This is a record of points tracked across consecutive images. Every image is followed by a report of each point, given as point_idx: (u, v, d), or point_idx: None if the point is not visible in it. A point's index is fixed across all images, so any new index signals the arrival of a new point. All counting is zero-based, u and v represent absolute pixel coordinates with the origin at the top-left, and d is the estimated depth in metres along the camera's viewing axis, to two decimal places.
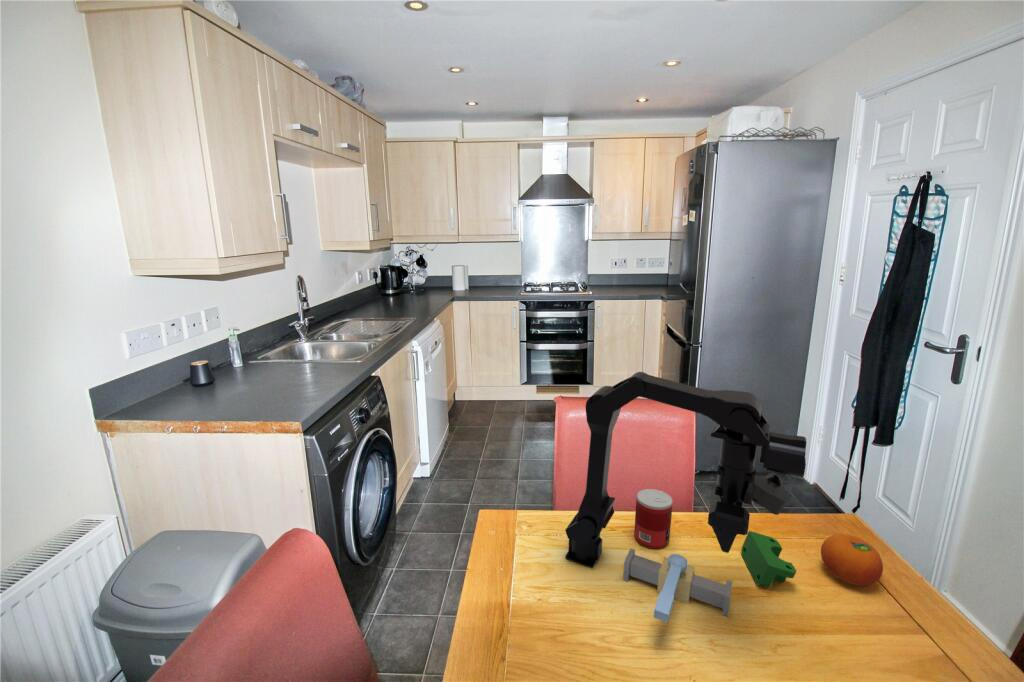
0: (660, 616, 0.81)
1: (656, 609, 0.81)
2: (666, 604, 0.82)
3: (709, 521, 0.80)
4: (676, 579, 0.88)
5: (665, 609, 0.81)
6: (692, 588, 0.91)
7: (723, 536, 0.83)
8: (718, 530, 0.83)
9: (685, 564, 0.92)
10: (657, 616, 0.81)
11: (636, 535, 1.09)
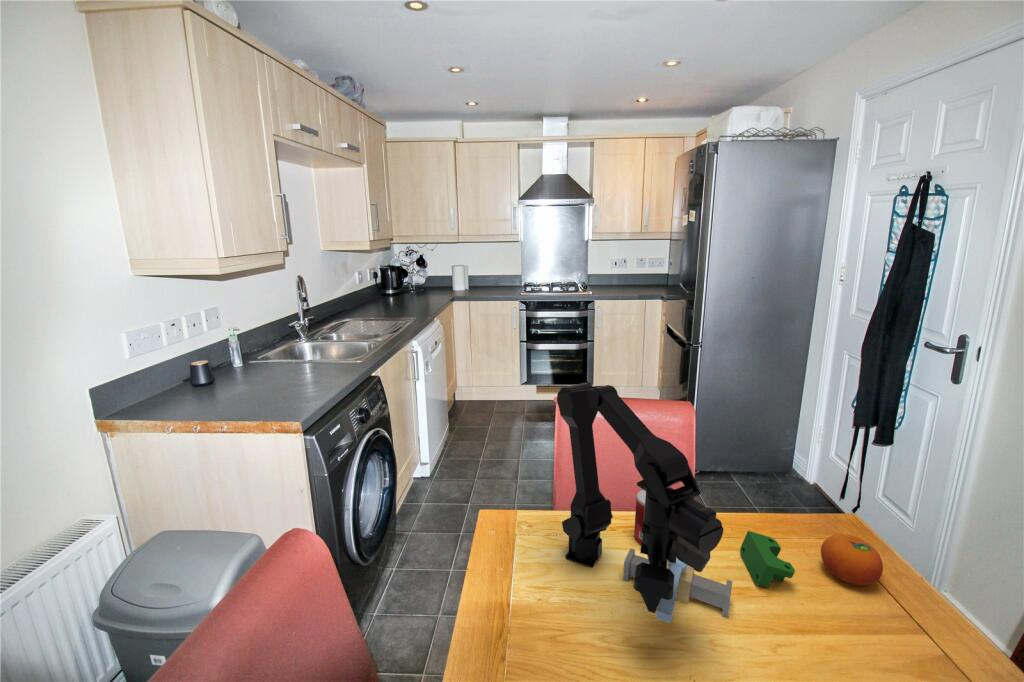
0: (663, 617, 0.81)
1: (659, 610, 0.81)
2: (668, 605, 0.82)
3: (635, 586, 0.77)
4: (677, 579, 0.88)
5: (668, 610, 0.81)
6: (692, 588, 0.91)
7: (649, 597, 0.80)
8: None
9: (685, 564, 0.92)
10: (660, 617, 0.81)
11: (636, 535, 1.09)
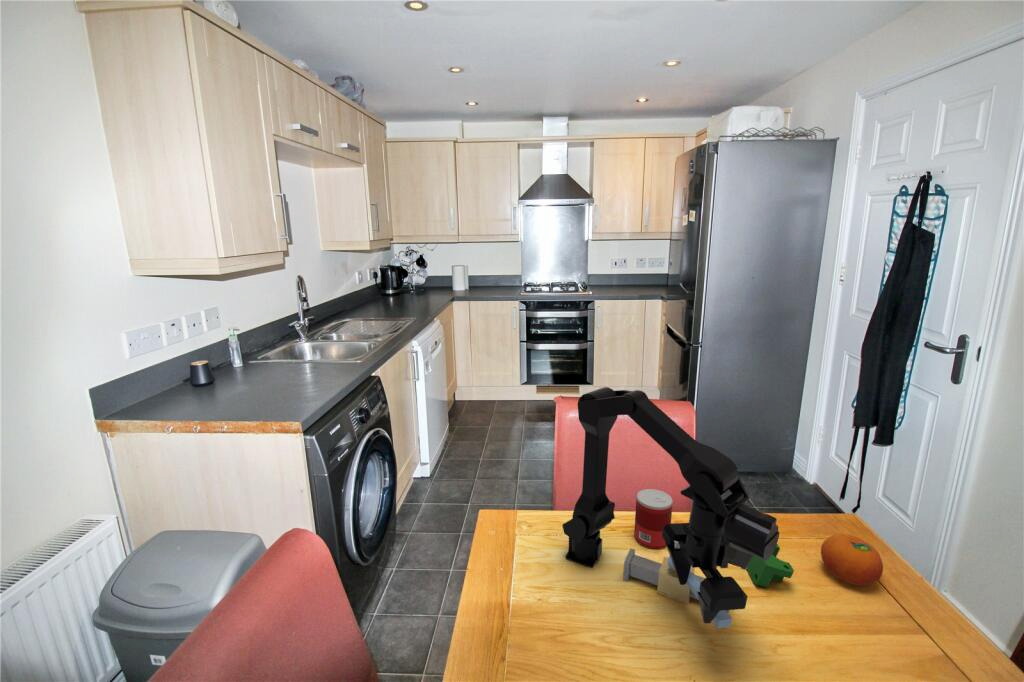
0: (724, 623, 0.79)
1: (720, 619, 0.79)
2: None
3: (712, 606, 0.73)
4: (696, 579, 0.88)
5: (724, 614, 0.80)
6: None
7: (710, 609, 0.78)
8: (708, 606, 0.77)
9: None
10: (721, 625, 0.79)
11: (636, 535, 1.09)
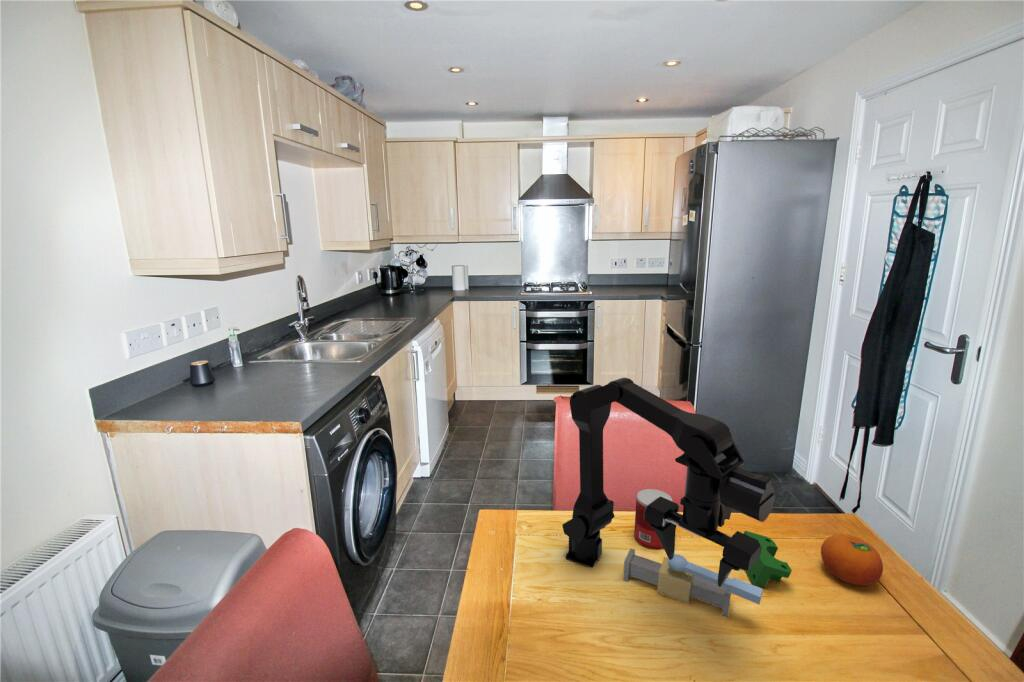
0: (760, 597, 0.85)
1: (759, 595, 0.84)
2: (749, 586, 0.86)
3: (745, 566, 0.73)
4: (707, 569, 0.91)
5: (756, 589, 0.85)
6: (692, 588, 0.91)
7: None
8: None
9: (682, 557, 0.94)
10: (760, 600, 0.84)
11: (636, 535, 1.09)
